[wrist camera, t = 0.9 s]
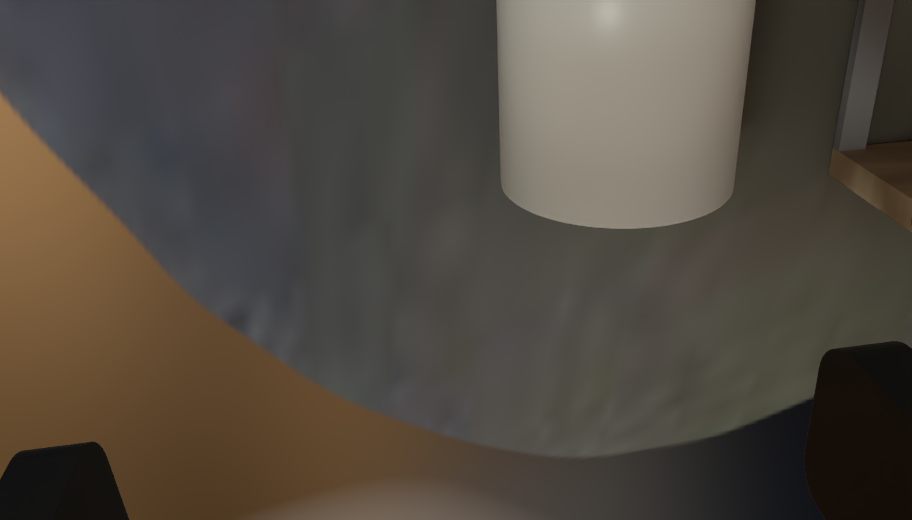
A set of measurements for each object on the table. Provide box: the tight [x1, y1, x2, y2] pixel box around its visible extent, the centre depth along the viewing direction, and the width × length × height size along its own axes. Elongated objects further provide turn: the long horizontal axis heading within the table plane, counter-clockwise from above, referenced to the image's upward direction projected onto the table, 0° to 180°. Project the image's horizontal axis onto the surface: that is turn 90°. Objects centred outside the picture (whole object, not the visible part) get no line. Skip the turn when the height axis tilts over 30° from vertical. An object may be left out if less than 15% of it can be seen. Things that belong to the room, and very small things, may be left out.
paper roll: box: [496, 0, 756, 229], centre depth 23 cm, size 10×7×7 cm
